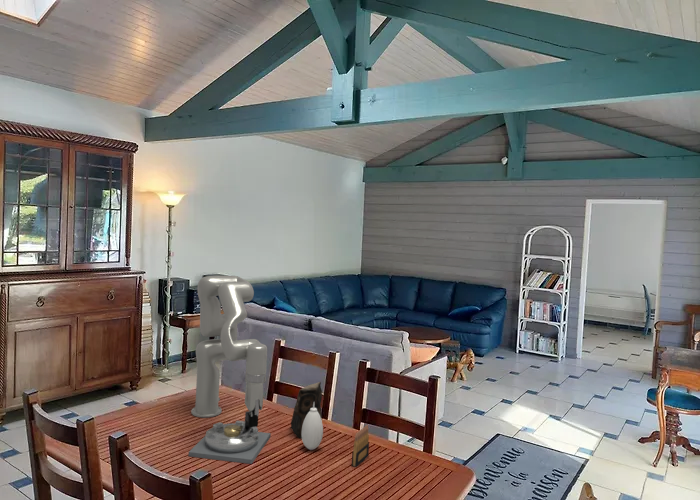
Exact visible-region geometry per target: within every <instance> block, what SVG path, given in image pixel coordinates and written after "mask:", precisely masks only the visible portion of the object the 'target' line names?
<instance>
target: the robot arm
mask: <svg viewBox="0 0 700 500" xmlns="http://www.w3.org/2000/svg"><path fill="white" fill-rule="evenodd" d="M254 294H255V291H254V288H253V285H252V284H251V282H249V281H248V280H246V279H244V278H242V277H240V276H237V275H208V276H203V277H201V278H200V279H199V280H198V284H197V295H198V300H199V307H200V309H199V312H200V313H199V331H200V335H202V337H206V338H210V337H211V338H213V337H220V338H213V339H205V340H202V341H200V342H199V343H197V345H196V347H195V357H196V358H195V359H196V387H195V405H194V407H192V409H191V410H190V411H191V412H190V413H191V415H192V416H194V417H197V418H213V417H217V416H219V415H220V414H222V412H223V410H222V407H220V406H219V402H220V400H221V398H220V397H219V395H220V379H221V378H220V375H221V373H220V368H218V366H217V365H216V362H223V361H229V362H238V361H245V377H244V379H245V381H244V382H245V383H246V385H245V393H244V405H245V406H246V408H247V411H249V424H248V425H249V427H257V428H258V426H259V415H260V413H259V412H260V411H262V410H263V405H264V384H265V383H266V382H267V366H268V363H267V362H268V347H267V345H266V344H264V343H261V342H260V341H259V339H256V338H250V339H240V340H239V339H238V324H240V323H242V322H243V321H245V320H246V318H247V316H248V312H247V309H246V306H245V303H246V302H250V301H252V300H253V299H254ZM221 308H222V311H223V313H221V312H222V311H221Z"/></svg>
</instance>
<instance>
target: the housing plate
mask: <svg viewBox="0 0 700 500" xmlns="http://www.w3.org/2000/svg"><path fill="white" fill-rule="evenodd" d="M271 435H272V434H271V433H270V432H264V431H258V443H257V444H256V446H254V447H253V448H251V449H249V450H246V451H242V452H237V453H222V452H217V451H213V450H211V449H209V448H208V447H207V446H206V444H205V439H206V435H204V436H203V438H201V439H200V440H199V441H198V442H197V443H196V444H195V445H194V446H193V447H192V448H191V449H190V450H189V451H188V455H187V457H192V458H199V459H200V458H201V459H208V460H214V461H215V460H218V461H225V462H233V463H241V464H250V465H252V464H253V463H254V461H255V460H256V459H257V457H258V455H259V454H260V453H261V451H262V450H263V449H264V447H265V446H266V444H267V443H268V441H269V440H270V439H271V437H272V436H271Z"/></svg>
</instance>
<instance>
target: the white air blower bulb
mask: <svg viewBox="0 0 700 500" xmlns="http://www.w3.org/2000/svg"><path fill="white" fill-rule="evenodd" d="M301 436H302V439H301V440H302V443H303V446H305V448H306V449H308V450H310V451H313V450H315V449H316V448H318V447H319V445H320V444H321V442H322V440H323V436H324V426H323V421H322V417H320V415H319V413H318V411H317V408H314V403H313V408H310V411H309V412H308V414H307V415H306V417H305V419H304V422H303V425H302V432H301Z"/></svg>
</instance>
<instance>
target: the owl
mask: <svg viewBox="0 0 700 500" xmlns="http://www.w3.org/2000/svg"><path fill="white" fill-rule="evenodd" d="M321 385H322V382H321V381H318V382H315V383H311V384H309V385H306V386H304V387H302V388H300V389H299V390H298V393H297V397H296V403H295V405H294V408H293V412H292V417H291V421H290V429H291V430H292V432H293V434H294V435H295V436H296V438H297V439H301V440H302V436H301V432H302V425H303V422H304V419H305V417H306V415H307V414H308V412H309V411H310V408H313V403H314V408H317V411H318V413H319V415H320V417H321V418H322V415H323V414H322V410H323V409H322V407H321V405H322V404H321V403H322V398H323V390H322V386H321Z"/></svg>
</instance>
